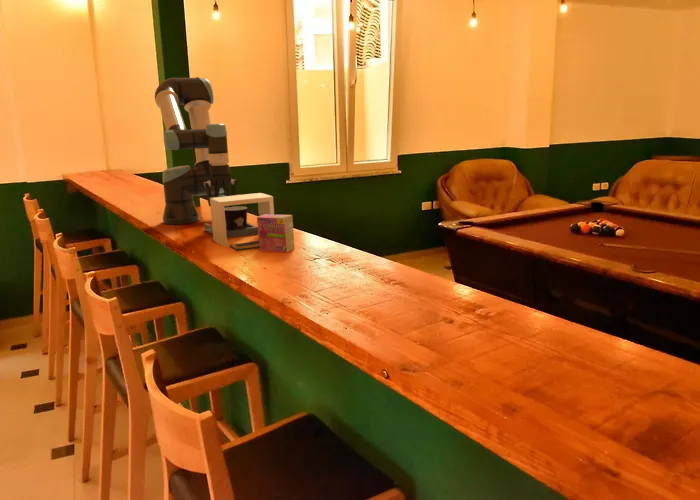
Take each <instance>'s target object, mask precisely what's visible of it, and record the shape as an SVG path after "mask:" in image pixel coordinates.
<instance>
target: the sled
mask: <svg viewBox="0 0 700 500" xmlns="http://www.w3.org/2000/svg"><path fill="white" fill-rule="evenodd" d="M224 196H226V195H225V194H219V197H224ZM225 208H228V206H224V209H225ZM225 222H226V219H225ZM226 227H227V222H226ZM204 231H206V232H208V233H209V234H210V235H212V236H213V228H212V224H210V223H207V222H206V223H204ZM226 234H227V239H230V238H235V237H242V236H243V237H244V236H251V235H257V234H258V225H255V224H252V223H250V222H249V221H247V226H246V228H243V229H235V230H228V229H227V228H226ZM258 235H259V234H258Z"/></svg>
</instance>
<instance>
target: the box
mask: <svg viewBox="0 0 700 500" xmlns="http://www.w3.org/2000/svg"><path fill="white" fill-rule="evenodd" d="M256 220H257V221H256V224H257V227H258V241H259V245H260V248H259V251H264V250H265V252H266V251H268V252H277V253H279V252H280V253H288V252H290V251H292V250H294V249H295V237H294V222H293V220H294V219H293V214H275V213H274V214H264V215H261V216H259V215H258V216H257V217H256Z"/></svg>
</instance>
